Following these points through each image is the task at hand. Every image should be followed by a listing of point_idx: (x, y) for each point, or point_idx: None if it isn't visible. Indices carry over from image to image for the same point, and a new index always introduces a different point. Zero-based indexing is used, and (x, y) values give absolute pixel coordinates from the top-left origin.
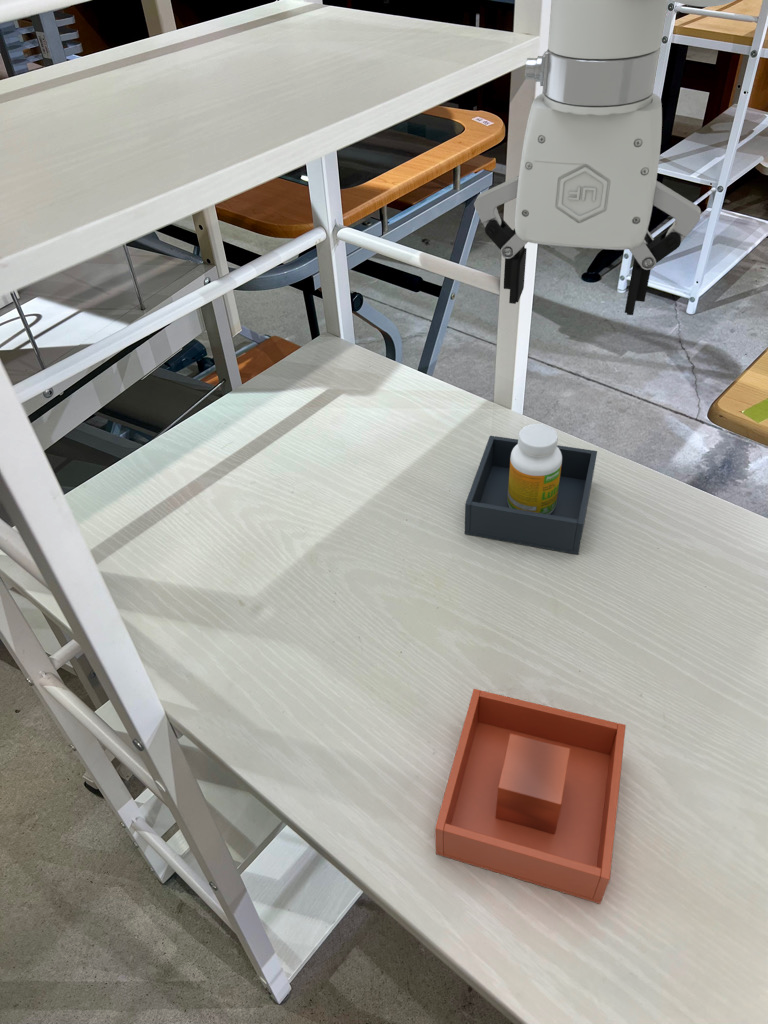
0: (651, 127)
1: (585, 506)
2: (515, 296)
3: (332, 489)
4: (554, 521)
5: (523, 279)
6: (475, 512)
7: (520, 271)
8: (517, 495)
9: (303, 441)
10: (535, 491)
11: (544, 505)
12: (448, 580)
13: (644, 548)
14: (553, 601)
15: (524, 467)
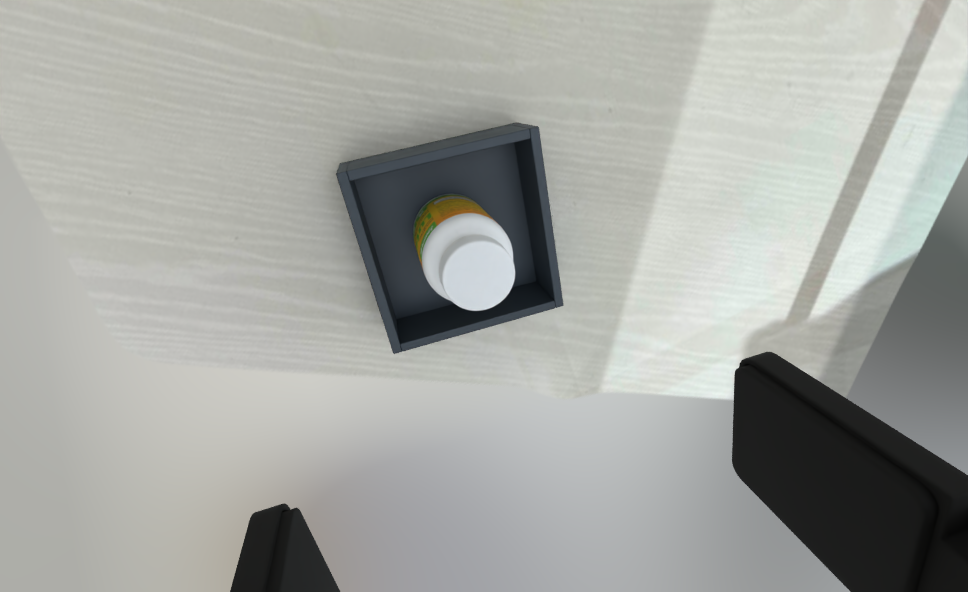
0: None
1: (352, 218)
2: (770, 373)
3: (735, 120)
4: (385, 161)
5: (766, 487)
6: (516, 129)
7: (855, 471)
8: (469, 202)
9: (807, 199)
10: (443, 210)
11: (423, 213)
12: (499, 7)
13: (254, 228)
14: (328, 41)
15: (475, 217)
